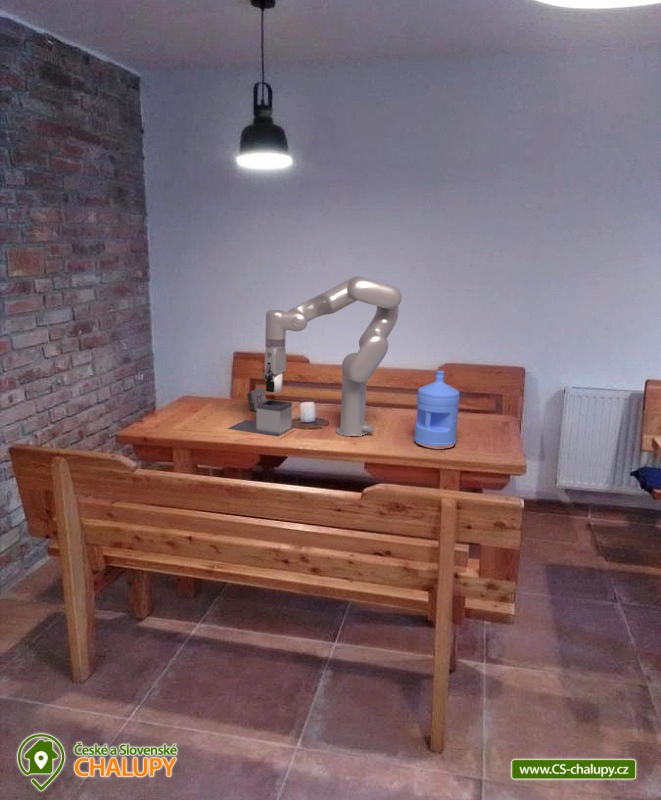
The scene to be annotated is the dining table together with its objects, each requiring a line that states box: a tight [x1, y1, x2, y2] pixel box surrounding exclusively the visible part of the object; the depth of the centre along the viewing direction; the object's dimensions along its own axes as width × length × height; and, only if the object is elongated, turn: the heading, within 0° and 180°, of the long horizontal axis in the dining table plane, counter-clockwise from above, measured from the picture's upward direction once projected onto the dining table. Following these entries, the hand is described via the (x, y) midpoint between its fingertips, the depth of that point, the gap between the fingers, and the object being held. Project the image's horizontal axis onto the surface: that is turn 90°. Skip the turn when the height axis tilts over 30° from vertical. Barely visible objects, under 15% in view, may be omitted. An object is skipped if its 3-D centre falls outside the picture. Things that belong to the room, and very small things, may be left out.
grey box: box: [226, 398, 296, 439], centre depth 254 cm, size 22×16×12 cm
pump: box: [262, 372, 283, 394], centre depth 248 cm, size 8×6×8 cm
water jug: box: [413, 370, 461, 446], centre depth 243 cm, size 16×16×28 cm
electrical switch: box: [246, 387, 267, 412], centre depth 287 cm, size 9×5×9 cm, turn 152°
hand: (274, 389), depth 248 cm, fingers closed on pump, 6 cm apart
